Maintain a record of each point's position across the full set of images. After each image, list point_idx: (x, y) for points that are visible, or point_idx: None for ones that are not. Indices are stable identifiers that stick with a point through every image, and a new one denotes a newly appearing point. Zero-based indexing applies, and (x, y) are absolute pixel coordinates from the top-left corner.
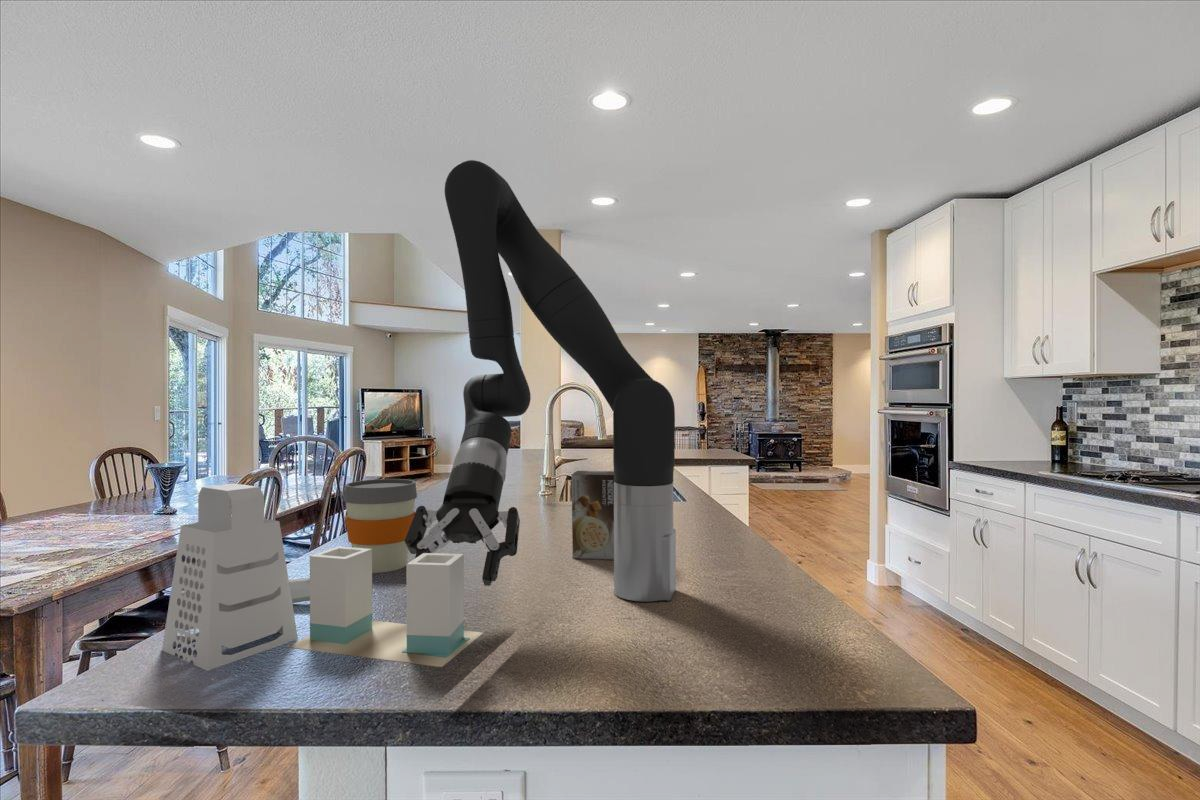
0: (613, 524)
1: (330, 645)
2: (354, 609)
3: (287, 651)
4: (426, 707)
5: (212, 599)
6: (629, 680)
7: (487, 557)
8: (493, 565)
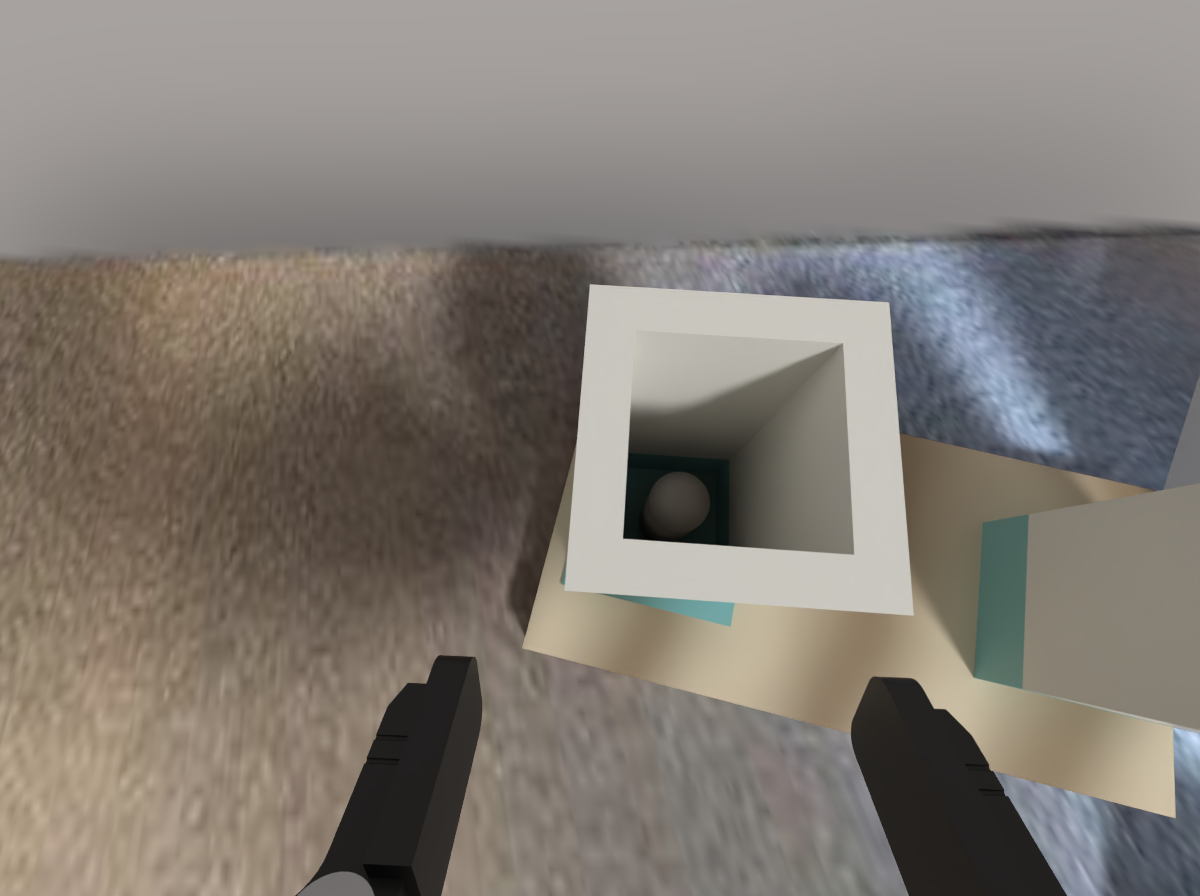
0: None
1: (1027, 509)
2: (1071, 563)
3: None
4: (594, 255)
5: None
6: (81, 398)
7: (419, 802)
8: (389, 756)
